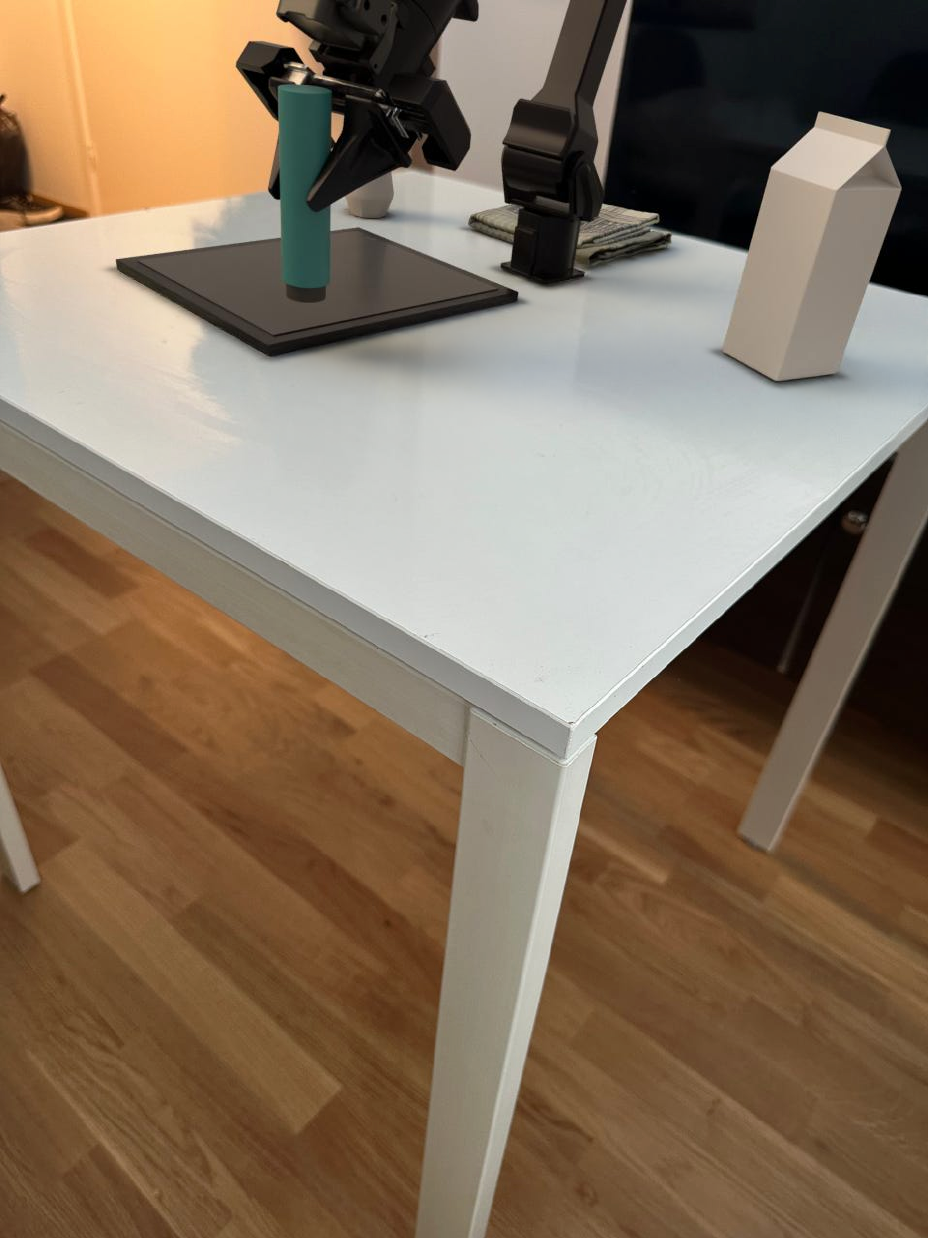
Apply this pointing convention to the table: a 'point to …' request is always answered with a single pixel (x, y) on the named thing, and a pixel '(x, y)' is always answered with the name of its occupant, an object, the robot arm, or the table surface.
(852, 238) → the milk carton
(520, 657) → the table surface
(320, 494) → the table surface
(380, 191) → the salt shaker
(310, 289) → the marker
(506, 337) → the table surface
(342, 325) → the tablet
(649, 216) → the dish towel
